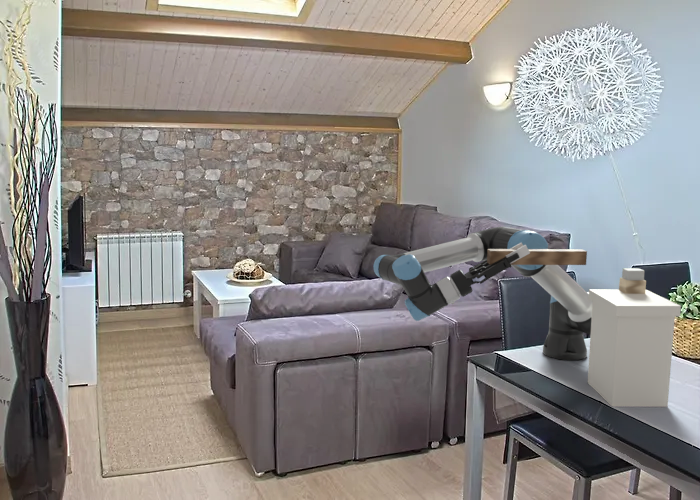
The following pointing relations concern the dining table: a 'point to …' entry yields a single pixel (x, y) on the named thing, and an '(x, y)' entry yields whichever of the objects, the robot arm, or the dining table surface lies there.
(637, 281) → the birch offcut
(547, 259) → the walnut block
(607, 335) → the cream stand
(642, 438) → the dining table surface
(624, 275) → the grey offcut
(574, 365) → the dining table surface
